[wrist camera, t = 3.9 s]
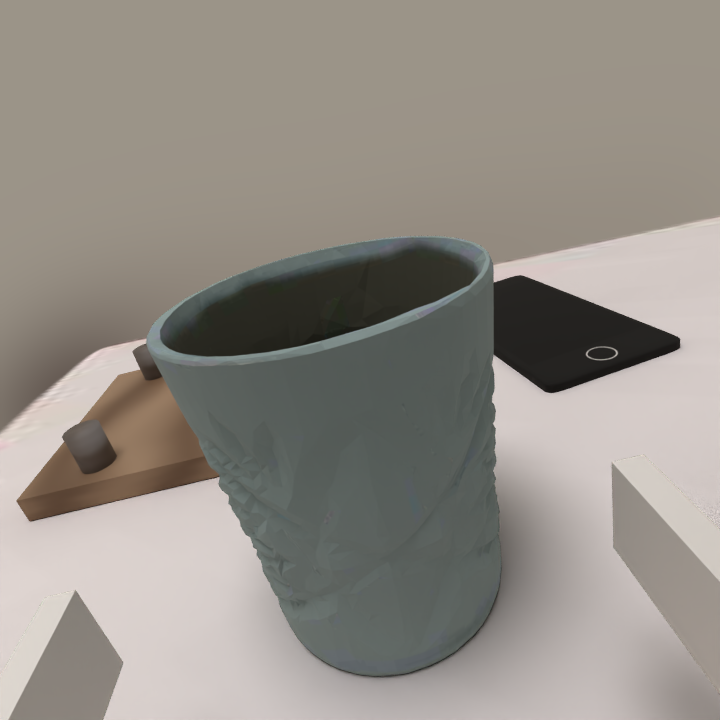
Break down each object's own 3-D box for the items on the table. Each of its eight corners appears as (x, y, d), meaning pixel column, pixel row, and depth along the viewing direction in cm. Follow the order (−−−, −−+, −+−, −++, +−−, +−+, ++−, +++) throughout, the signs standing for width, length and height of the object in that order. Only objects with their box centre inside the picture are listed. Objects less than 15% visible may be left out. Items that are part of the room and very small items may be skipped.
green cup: (218, 623, 20) (77, 346, 15) (360, 463, 27) (298, 240, 22) (461, 764, 14) (363, 380, 9) (561, 511, 21) (539, 218, 16)
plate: (353, 335, 43) (342, 291, 41) (372, 440, 28) (356, 379, 27) (125, 390, 43) (106, 349, 42) (29, 521, 29) (-7, 466, 27)
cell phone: (550, 401, 29) (549, 386, 28) (430, 312, 45) (428, 302, 44) (684, 352, 30) (685, 338, 29) (520, 283, 46) (519, 273, 46)
